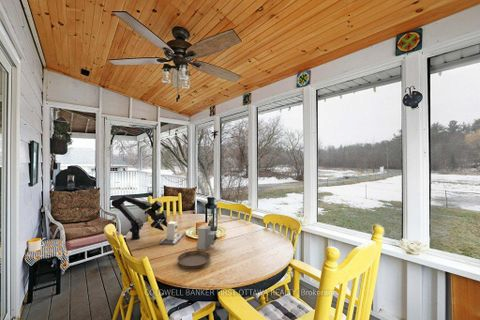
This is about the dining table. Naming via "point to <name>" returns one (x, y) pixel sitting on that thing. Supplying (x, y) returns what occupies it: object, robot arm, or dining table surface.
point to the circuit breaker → (205, 237)
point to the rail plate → (172, 242)
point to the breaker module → (172, 230)
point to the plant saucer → (193, 259)
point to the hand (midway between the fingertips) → (166, 228)
